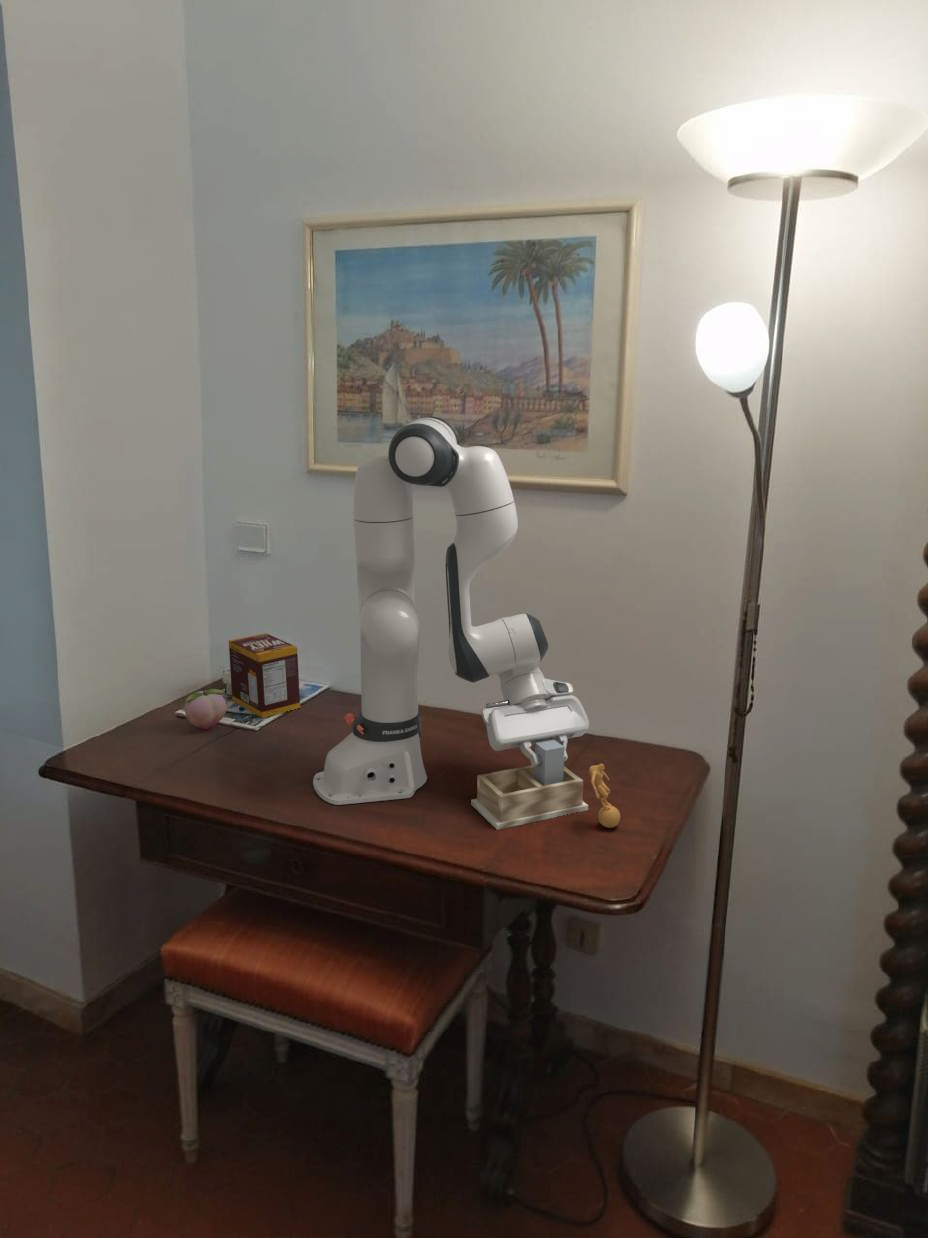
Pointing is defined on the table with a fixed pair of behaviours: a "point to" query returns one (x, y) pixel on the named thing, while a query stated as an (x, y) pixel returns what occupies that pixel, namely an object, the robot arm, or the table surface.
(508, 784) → the wooden divided tray
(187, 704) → the decorative fruit
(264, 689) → the supplement box
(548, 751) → the grey peg
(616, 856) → the table surface
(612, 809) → the figurine
